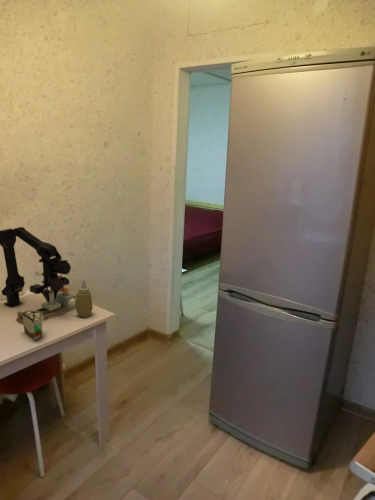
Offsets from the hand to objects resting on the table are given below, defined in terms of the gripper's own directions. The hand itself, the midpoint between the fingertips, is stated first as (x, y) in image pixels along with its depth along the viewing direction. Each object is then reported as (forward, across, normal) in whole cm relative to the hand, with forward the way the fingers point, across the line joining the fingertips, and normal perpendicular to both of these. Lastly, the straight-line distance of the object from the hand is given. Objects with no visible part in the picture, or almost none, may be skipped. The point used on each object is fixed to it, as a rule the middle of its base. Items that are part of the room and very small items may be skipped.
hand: (51, 301), depth 172 cm
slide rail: (+6, -5, 0) cm, 8 cm away
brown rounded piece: (0, +8, 0) cm, 8 cm away
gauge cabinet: (+6, +8, 0) cm, 10 cm away
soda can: (+6, +16, +17) cm, 24 cm away
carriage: (+3, 0, 0) cm, 3 cm away
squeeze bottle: (+6, +8, -15) cm, 18 cm away
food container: (+6, -18, -14) cm, 24 cm away
